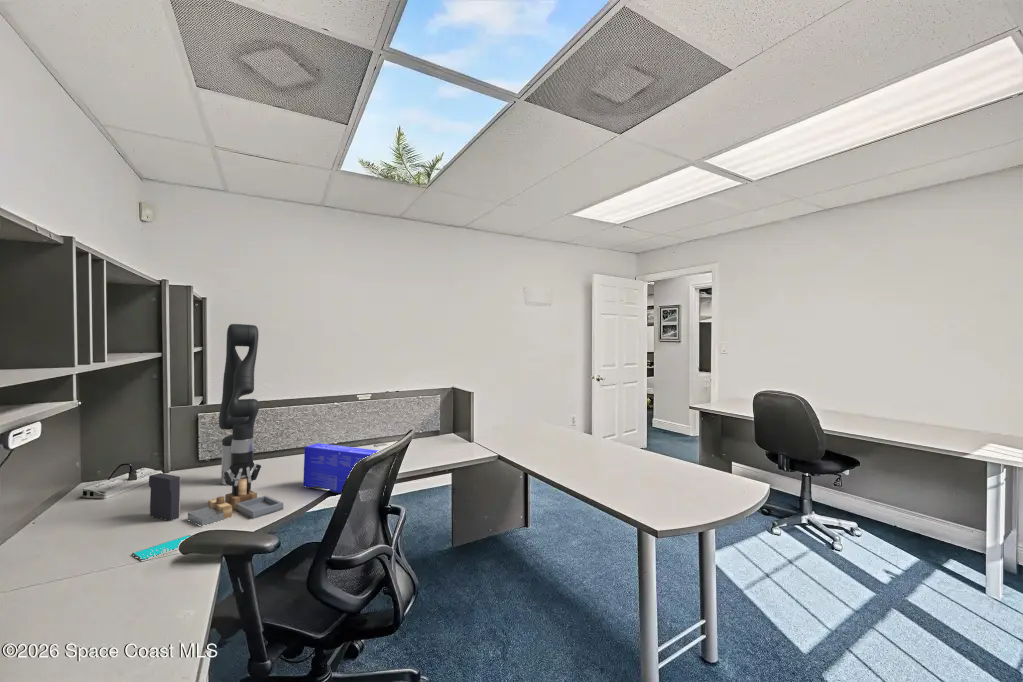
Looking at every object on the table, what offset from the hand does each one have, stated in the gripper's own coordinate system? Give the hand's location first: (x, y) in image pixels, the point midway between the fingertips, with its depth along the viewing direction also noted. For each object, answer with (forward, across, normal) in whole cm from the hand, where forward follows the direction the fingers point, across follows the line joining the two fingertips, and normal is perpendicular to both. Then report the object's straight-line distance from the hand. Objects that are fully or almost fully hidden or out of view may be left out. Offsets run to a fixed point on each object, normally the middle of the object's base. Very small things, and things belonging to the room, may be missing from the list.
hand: (241, 493), depth 168 cm
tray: (+4, -2, +12) cm, 12 cm away
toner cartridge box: (+5, -34, +18) cm, 39 cm away
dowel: (+4, 0, 0) cm, 4 cm away
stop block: (+4, +9, +4) cm, 11 cm away
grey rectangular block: (+5, +14, +6) cm, 16 cm away
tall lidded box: (+4, +22, -8) cm, 24 cm away
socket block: (+4, 0, 0) cm, 4 cm away
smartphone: (+5, +30, +20) cm, 36 cm away
